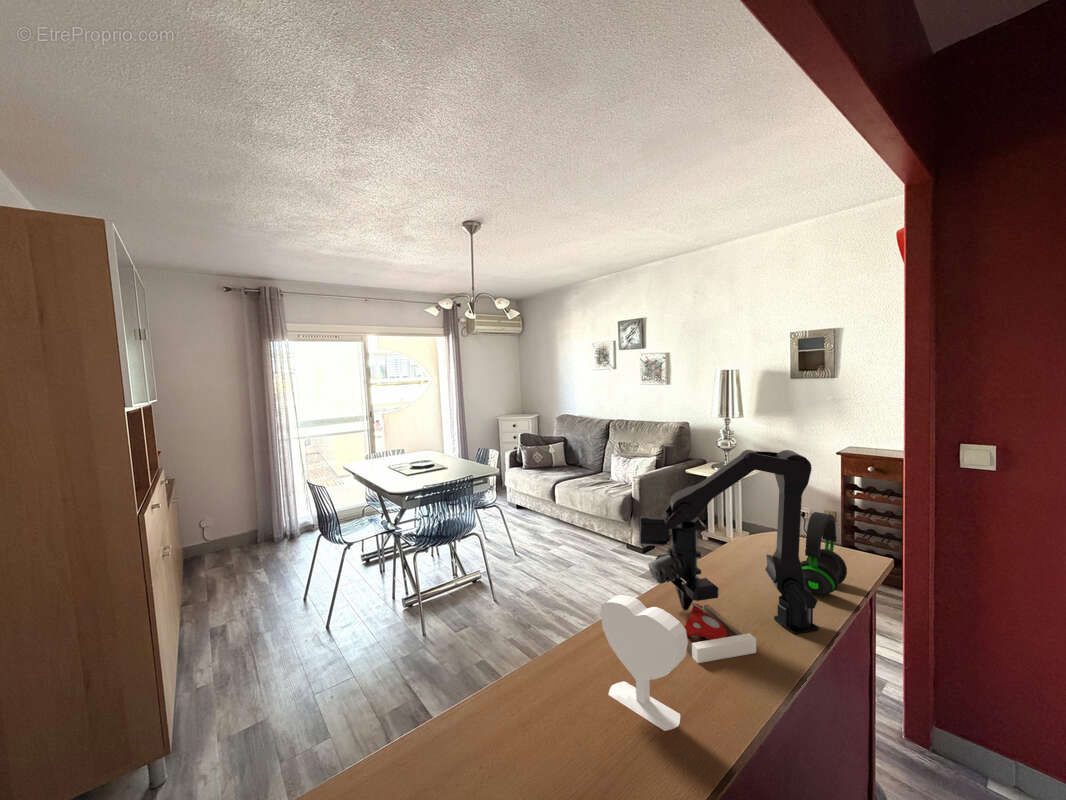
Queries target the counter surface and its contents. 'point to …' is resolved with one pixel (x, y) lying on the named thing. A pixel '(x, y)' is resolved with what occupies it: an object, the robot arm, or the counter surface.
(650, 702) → the heart sculpture
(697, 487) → the robot arm
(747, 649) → the guide channel
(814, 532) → the headphones
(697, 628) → the tracker holder
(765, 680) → the counter surface
